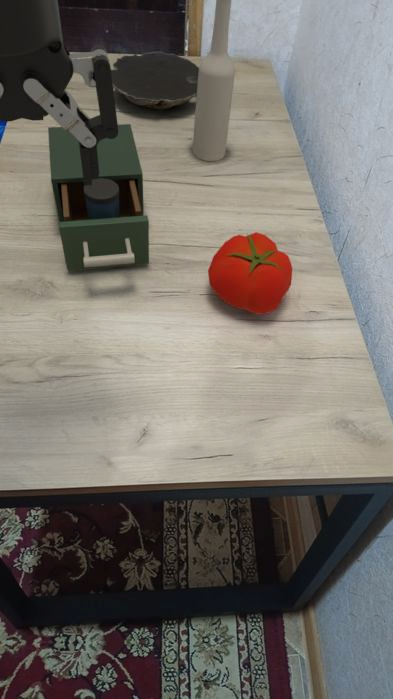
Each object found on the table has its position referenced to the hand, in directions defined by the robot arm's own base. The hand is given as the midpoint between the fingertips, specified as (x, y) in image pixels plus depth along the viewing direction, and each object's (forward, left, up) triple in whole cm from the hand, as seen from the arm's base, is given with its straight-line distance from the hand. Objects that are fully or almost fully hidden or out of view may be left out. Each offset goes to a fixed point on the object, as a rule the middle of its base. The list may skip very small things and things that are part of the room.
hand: (37, 183), depth 42 cm
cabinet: (+6, +35, -28) cm, 45 cm away
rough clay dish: (+22, +72, -28) cm, 80 cm away
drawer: (+6, +22, -27) cm, 36 cm away
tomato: (+26, +10, -28) cm, 40 cm away
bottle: (+29, +49, -28) cm, 64 cm away
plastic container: (+6, +23, -26) cm, 36 cm away
